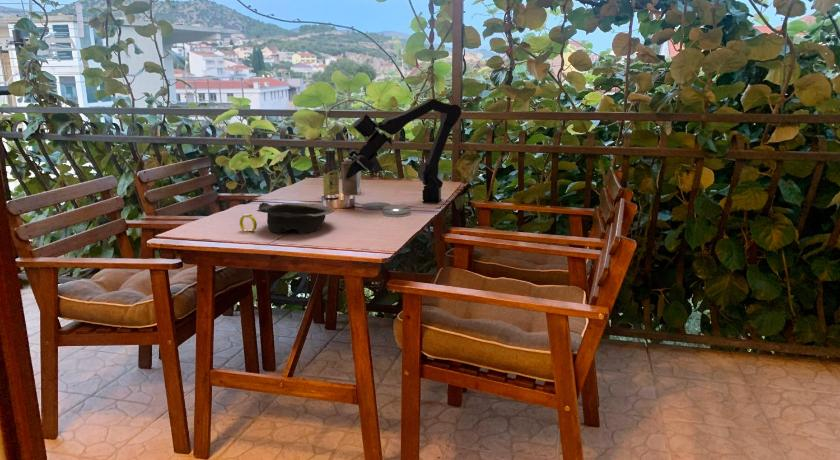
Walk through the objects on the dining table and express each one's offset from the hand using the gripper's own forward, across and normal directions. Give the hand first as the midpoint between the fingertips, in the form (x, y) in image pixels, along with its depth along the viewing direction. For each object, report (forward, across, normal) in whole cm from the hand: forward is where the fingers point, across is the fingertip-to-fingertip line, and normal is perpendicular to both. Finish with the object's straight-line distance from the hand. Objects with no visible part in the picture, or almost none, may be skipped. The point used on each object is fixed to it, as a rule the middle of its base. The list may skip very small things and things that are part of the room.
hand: (345, 177), depth 224 cm
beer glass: (+2, +28, -16) cm, 32 cm away
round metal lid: (-2, -13, -20) cm, 24 cm away
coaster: (+1, 0, -17) cm, 17 cm away
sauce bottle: (+10, +22, -8) cm, 25 cm away
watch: (+35, -18, +18) cm, 43 cm away
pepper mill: (+4, 0, -6) cm, 7 cm away
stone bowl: (+24, -21, +6) cm, 32 cm away
